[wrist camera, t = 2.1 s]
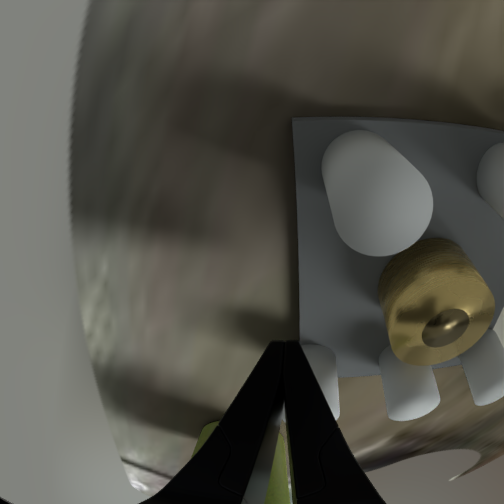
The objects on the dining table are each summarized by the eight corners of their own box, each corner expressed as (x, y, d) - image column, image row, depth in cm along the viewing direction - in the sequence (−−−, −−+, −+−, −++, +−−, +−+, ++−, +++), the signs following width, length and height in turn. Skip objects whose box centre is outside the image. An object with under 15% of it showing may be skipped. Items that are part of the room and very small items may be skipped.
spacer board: (590, 152, 7) (640, 186, 4) (520, 344, 14) (541, 389, 11) (268, 118, 9) (257, 148, 6) (285, 369, 16) (282, 430, 13)
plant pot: (232, 390, 18) (206, 530, 10) (333, 437, 20) (332, 544, 13) (160, 425, 22) (132, 520, 15) (251, 462, 25) (239, 546, 17)
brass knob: (478, 236, 10) (510, 278, 8) (453, 314, 12) (472, 359, 10) (384, 238, 10) (404, 285, 8) (371, 321, 13) (381, 371, 10)
